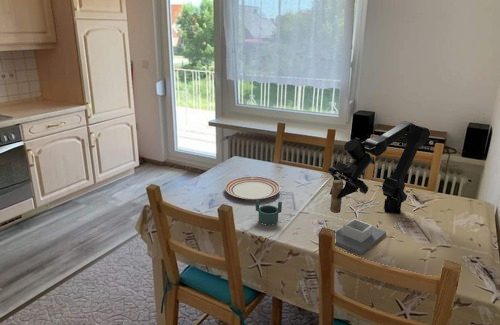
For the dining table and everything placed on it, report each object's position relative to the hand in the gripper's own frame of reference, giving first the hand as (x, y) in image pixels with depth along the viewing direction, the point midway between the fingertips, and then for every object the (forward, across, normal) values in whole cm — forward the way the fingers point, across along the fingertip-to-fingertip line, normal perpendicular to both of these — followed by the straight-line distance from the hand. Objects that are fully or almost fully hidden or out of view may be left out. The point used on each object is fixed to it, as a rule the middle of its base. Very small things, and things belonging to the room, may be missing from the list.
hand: (334, 196), depth 142 cm
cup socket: (+7, +11, +12) cm, 18 cm away
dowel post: (+4, 0, +6) cm, 7 cm away
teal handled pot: (+24, -16, -5) cm, 29 cm away
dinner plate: (+19, -45, +1) cm, 49 cm away
